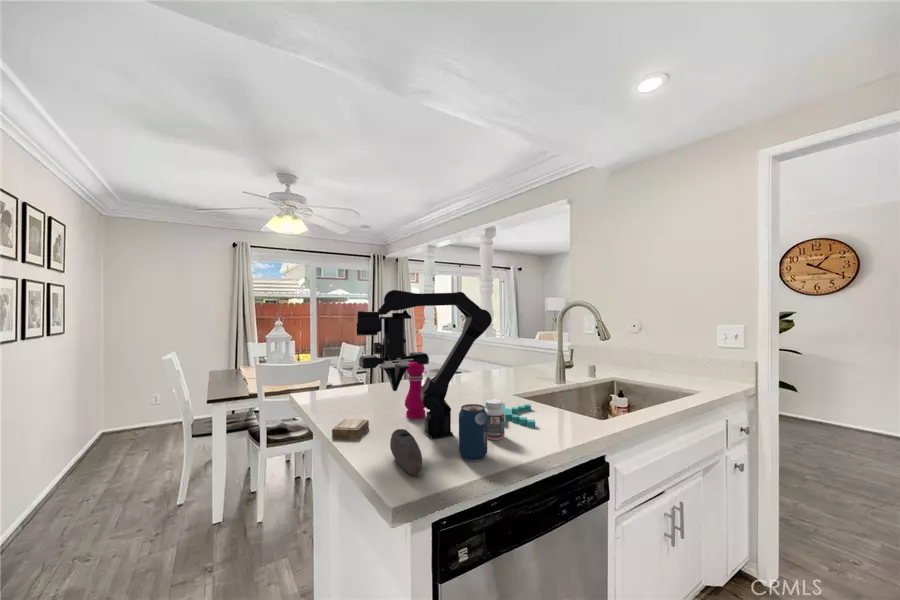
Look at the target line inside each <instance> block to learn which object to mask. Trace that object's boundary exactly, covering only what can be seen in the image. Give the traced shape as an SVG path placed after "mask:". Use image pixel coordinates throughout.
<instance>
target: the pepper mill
mask: <svg viewBox="0 0 900 600" xmlns="http://www.w3.org/2000/svg"><path fill="white" fill-rule="evenodd" d="M408 366H410V368H407V369H406V372H407V374H408V375H407V377H408V378H407V380H408V381H409V388H408V392H407V394H406V396H405V400H404V407H405V408H406V409H407V410H406V412H405V413H406V418H407V419H410V420H418V419H419V418H420V419H423V417H424V418H426V410H425V409H426V407H425V406H424V404H423V402H422V400H421V397H420V393H421V391H422V390H421V387H422V386H423V385H422V384H423V383H422V381H423V380H424V372H425V364H418V363H417V362H408ZM420 419H419V420H420Z"/></svg>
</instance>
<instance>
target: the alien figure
mask: <svg viewBox="0 0 900 600" xmlns="http://www.w3.org/2000/svg"><path fill="white" fill-rule="evenodd" d="M502 405H503V406H502V409H503V410H504V428H505V427H506V421H511V423H514V424H515V423H516V424H519V426H527V428H529V429H536V420H535V419H528V417H526V416H522V417H521V416H520V414H523V413H524V414H525V413H526V412H532V404H530V403H524V404H523V405H517V406H511V408H506V403H503V402H502ZM483 406H484V405H483ZM484 407H485V409H486V408H487V407H486V405H485V406H484Z"/></svg>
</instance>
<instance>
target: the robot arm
mask: <svg viewBox="0 0 900 600" xmlns="http://www.w3.org/2000/svg"><path fill="white" fill-rule="evenodd" d="M428 306H429V307H430V306H431V307H433V306H435V307H436V306H439V307H440V306H455V307H456V308H457V309H458V310H459V311H460V313H461V314H463V316H465V318H466V319H465V321H464V323H463V327H462V331H461V334H460V336H459V338H458V339H457V341H456V342H455V344H454V345H453V347H452V348H451V350H450V352H449V354H448V356H447V357H446V358H445V361H444V362H443V364H442V365H441V367H440V368H439V370H438V372H437V373H436V374H435V375H434V376H433V377H432V378H431V377H430V376H427V377H426V378H425V379H426V380H425V381H424V384H423V385H422V387H421V390H422V391H421V393H420V397H421V400H422V402H423V404H424V406H425V409H427V410H429V411H427V412H426V417H424V433H425V434H426V435H427V436H428V437H430V438H431V439H432V440H433V439H439V438H444V437H450V436H451V437H452V436H454V433H453V432H452V430H451V429H452V428H451V427H452V424H451V423H452V421H451V416H452V414H451V411H452V408H451V406H450V405H449V404H448V402H447V401H446V395H447V394H448V388H449V385H450V382H451V381H452V379H453V377H454V376H455V374H456V373H457V370H458V369H459V367H460V365H461V364H462V363H463V361H464V359H465V358H466V356H467V354H468V352H469V350H470V349H471V348H472V345H473V344H474V343H475V341H476V340H477V339H479V337H481V336H482V335H483V334H484V333H485V332H486V331H487V330H488V328H489V327H490V326H491V324H492V322H493V321H492V320H493V319H492V315H491V313H490V312H489V311H488V310H486V309H482V308H481V307H480V306H479V305H477V303H475V302H474V301H473V300H472V299H470V298H469V297H468V296H467V295H466V294H465V293H464V292H462V291H456V292H437V293H435V292H432V293H431V292H430V293H425V292H424V293H416V292H409V291H404V290H398V289H397V290H396V289H392V290H390V291H387V293H386V294H385V295H384V297H383V304H382V305H381V307H380V308H378V310H377V311H365V310H358V311H357V318H356V319H357V322H356V336H361V337H362V336H363V337H364V336H365V337H366V336H378V333H380V332H382V325H383V338H382V343H381V342H379V341H378V342H373V344H372V353H373V354H371V355H370V354H369V355H361V356H360V357H359V358H358V366H359V368H362V369H364V370H365V369H368V370H369V369H375V368H377V367H378V366H379V368H380V369H382V370H383V371H385V373H386V375H387V378H388V380H389V383H390V386H391V389H392V392H397V391H398V388H399V386H400V383H401V381H402V378H403V376H404V375H405V373H406V372H407V370H406V369H407V368H410V366H408V363H409V362H417V363H418V364H424V365H428V364H429V363H430V358H429V355H428V353H426V352H422V351H417V352H416V351H415V352H410V353H409V355H407V353H406V350H405V349H406V348H405V346H406V341H407V339H406V337H405V333H406V332H405V331H406V330H405V327H406V326H405V320H406V319H407V320H409V319H412V316H411V315H410V314H409V313H408V311H407V310H406V309H411V308H415V307H428ZM402 310H403V312H397V311H402ZM390 312H391V316H380V315H387V314H388V313H390ZM382 320H383V324H382ZM376 355H379V357H378V356H376Z"/></svg>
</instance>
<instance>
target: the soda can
mask: <svg viewBox="0 0 900 600" xmlns="http://www.w3.org/2000/svg"><path fill="white" fill-rule="evenodd" d="M458 452H459V454H460V457H461V458H462V459H463V460H466V461H469V462H479V461H481V460H484V459H485V457H486V455H488V439H487V413H486V411H485V407H484V405H481V404H479V403H478V404H476V403H469V404H464V405H461V407H460V410H459V413H458ZM483 458H484V459H483ZM478 460H479V461H478Z"/></svg>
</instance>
